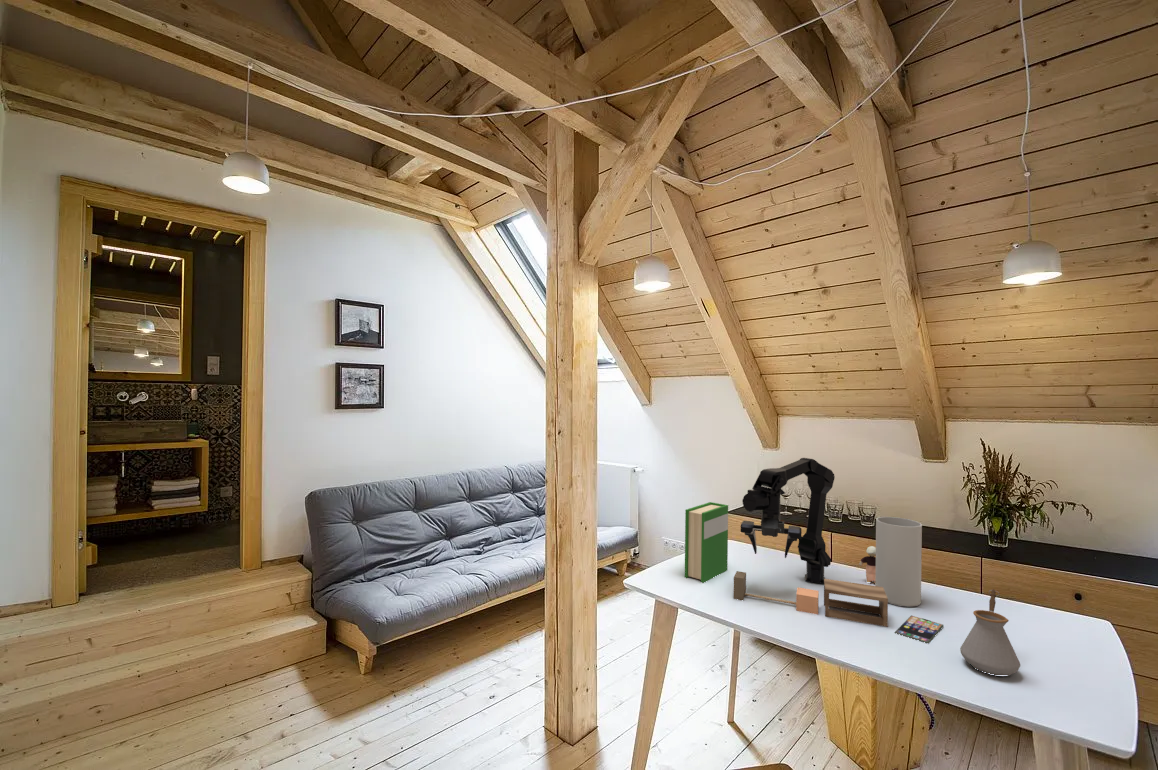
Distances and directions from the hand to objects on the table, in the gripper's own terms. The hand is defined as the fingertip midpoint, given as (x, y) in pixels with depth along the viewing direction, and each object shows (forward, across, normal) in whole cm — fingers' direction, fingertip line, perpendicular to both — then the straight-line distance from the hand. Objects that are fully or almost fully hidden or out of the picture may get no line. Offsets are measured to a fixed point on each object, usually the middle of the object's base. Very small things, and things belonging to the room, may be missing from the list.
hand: (770, 555), depth 172 cm
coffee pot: (+12, +53, -23) cm, 59 cm away
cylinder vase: (+12, +38, +11) cm, 41 cm away
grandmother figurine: (+12, +32, +24) cm, 42 cm away
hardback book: (+12, -22, +8) cm, 26 cm away
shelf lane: (+12, +24, -8) cm, 28 cm away
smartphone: (+13, +40, -11) cm, 43 cm away
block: (+12, +2, -9) cm, 15 cm away
